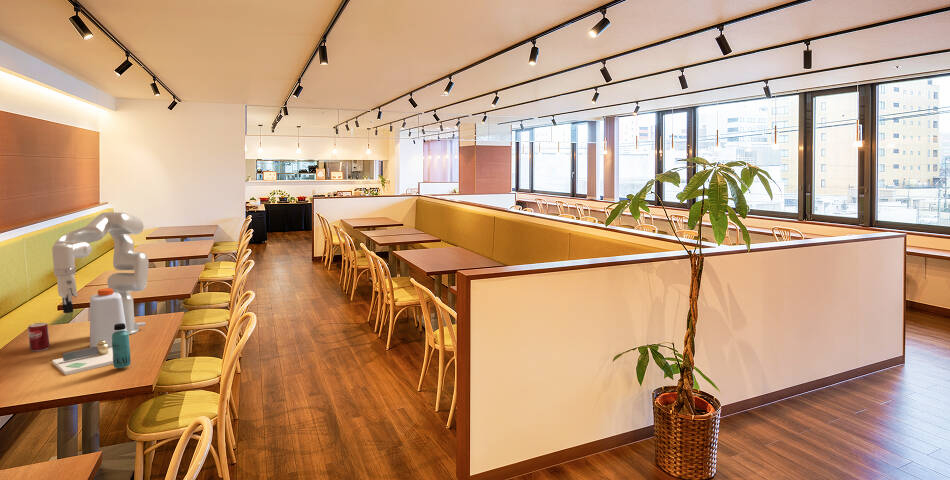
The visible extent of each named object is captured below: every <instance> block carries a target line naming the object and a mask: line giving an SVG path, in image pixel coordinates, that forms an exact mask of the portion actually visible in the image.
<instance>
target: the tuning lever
mask: <svg viewBox="0 0 950 480" xmlns="http://www.w3.org/2000/svg"><path fill="white" fill-rule="evenodd" d="M106 353H108V343H106V341H105V340H101V341H98V344H97V345H96V347H91V348H90V347H88V348H82V349H77V350H73V351H68V352H62V358H63V361H68V360H73V359H77V358H82V357H87V356H91V355H96V354H98V355H101V354H106Z"/></svg>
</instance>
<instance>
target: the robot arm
mask: <svg viewBox="0 0 950 480" xmlns="http://www.w3.org/2000/svg"><path fill="white" fill-rule="evenodd" d="M144 227H145V226H144V222H143V221H142V220H141V218H139V217H136V216H133V215H131V214H128V213H124V212H113V211H112V212H110V211H108V212H102V213H99V214H98V215H97V216H96V217H95V218H93V219H92V220H91V221H90V222H89V223H88V224H87V225H85V226H83V227H80V228H77V229H75V230H72V231H69V232H67V233H65V234H63V235H62V236H60V237H59V238H58V239H57V240H56V241H55V242H54V244H53V245H52V247H51V251H52V253H51V254H52V263H53V275H54V277H56V278H57V279H56V281H57V282H56V283H57V293H58V296H59V297H60V298H62V299H61V300H62V312H63V313H64V314H71V313H74V306H73V297H74V298H77V297H78V291H77V283H76V278H75V276H76V275H77V271H76V260H75V259H78V258H79V259H82V258H84V259H85V258H86V257H88V256H90V254H91V253H92V251H93V250H92V249H93V248H92V245H91V244H92V243H94V242H98V241H100V240H103V238H104V237H105V236H106V235H107V234H108V233H109V235H110V237H112V240H113V244H114V245H113V246H114V247H113V248H114V249H113V255H112V256H113V257H112V258H113V260H112V266H113V268H114V269H116V270H117V271H133V272H115V273H112V274H111V275H109V276H108V277H107V281H106V282H107V287H108V288H111V289H113V293H119V294H120V295H121V297H122V303H123V310H124V316H125V322H126V329H127V332H128V333H129V335H133V334H136V333H138V332H139V327H144V326H146V322H145V321H143V322H141V321H140V322H139V321H138V322H136V321H135V312H134V311H135V310H134V309H135V307H134V298H133V296H132V294H131V292H143V291H144V290H145V289H146V287H147V284H148V275H149V264H150V263H149V257H148V255H147V254H146V253H144V252H141V251H134V248H135V247H134V246H135V242H134V239H133V238H132V237H131V236H130V235H140V234H141V233H142V232H143V230H144ZM90 243H91V244H90Z"/></svg>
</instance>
